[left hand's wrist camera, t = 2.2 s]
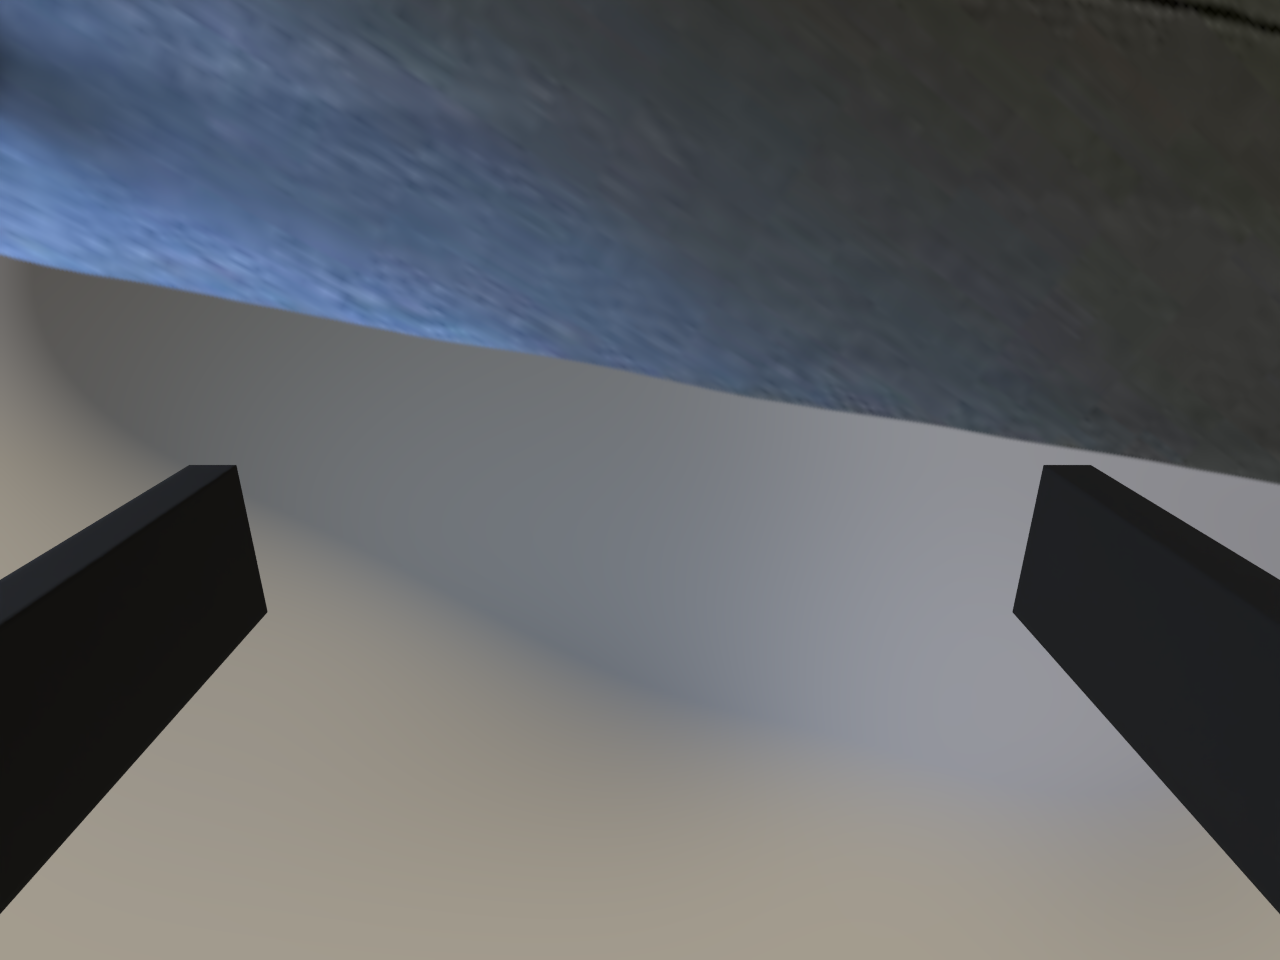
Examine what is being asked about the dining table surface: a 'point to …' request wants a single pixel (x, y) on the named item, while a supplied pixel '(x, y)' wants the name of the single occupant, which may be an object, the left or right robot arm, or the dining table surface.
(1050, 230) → the dining table surface
